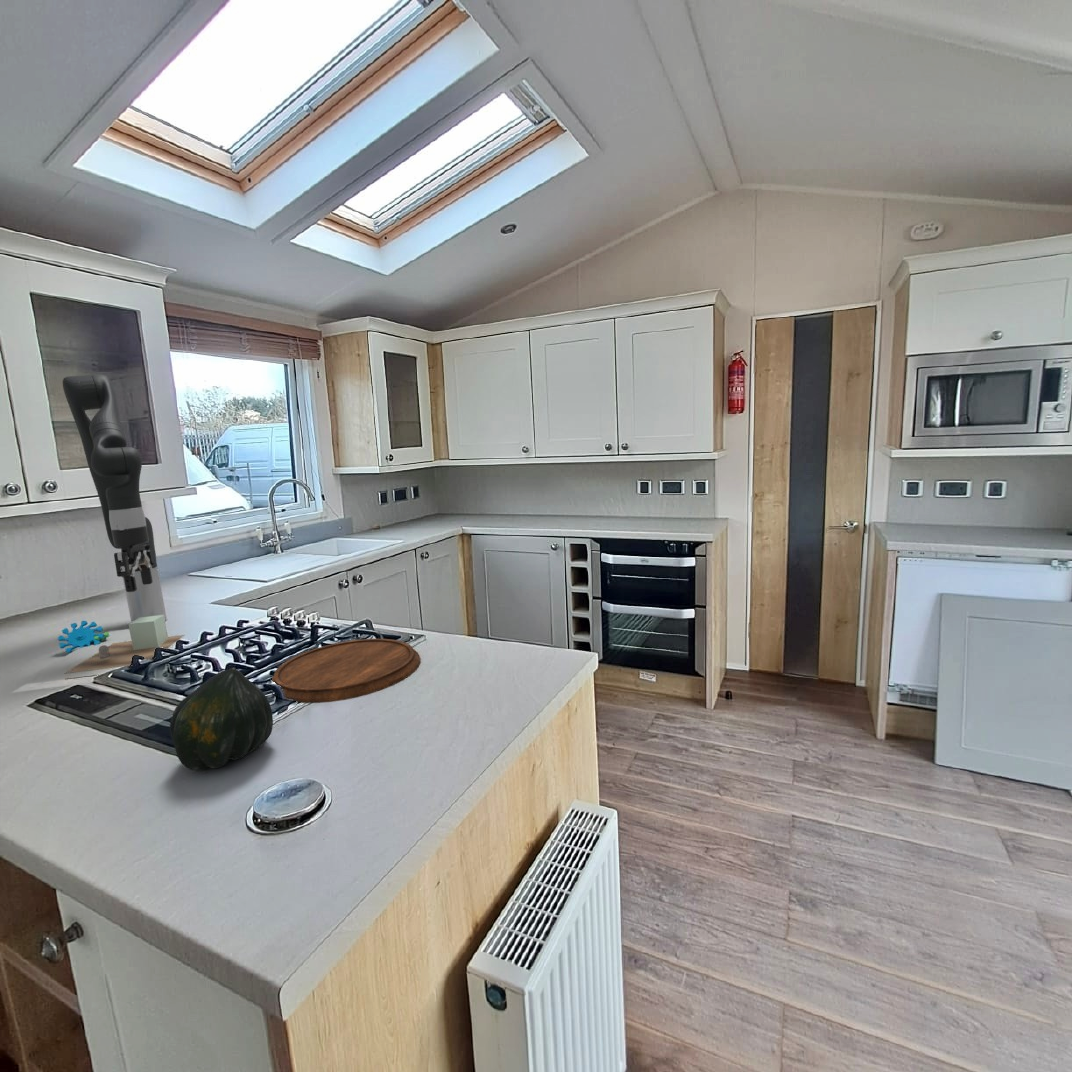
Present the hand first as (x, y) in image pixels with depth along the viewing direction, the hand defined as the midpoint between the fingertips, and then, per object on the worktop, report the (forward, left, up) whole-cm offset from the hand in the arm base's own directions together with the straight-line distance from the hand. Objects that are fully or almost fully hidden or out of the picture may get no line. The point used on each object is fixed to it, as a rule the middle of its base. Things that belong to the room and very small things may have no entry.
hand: (140, 587), depth 152 cm
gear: (-8, -20, -17) cm, 28 cm away
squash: (+67, +40, -17) cm, 80 cm away
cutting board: (+35, +55, -18) cm, 67 cm away
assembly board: (+5, -3, -17) cm, 18 cm away
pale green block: (0, 0, -16) cm, 16 cm away
